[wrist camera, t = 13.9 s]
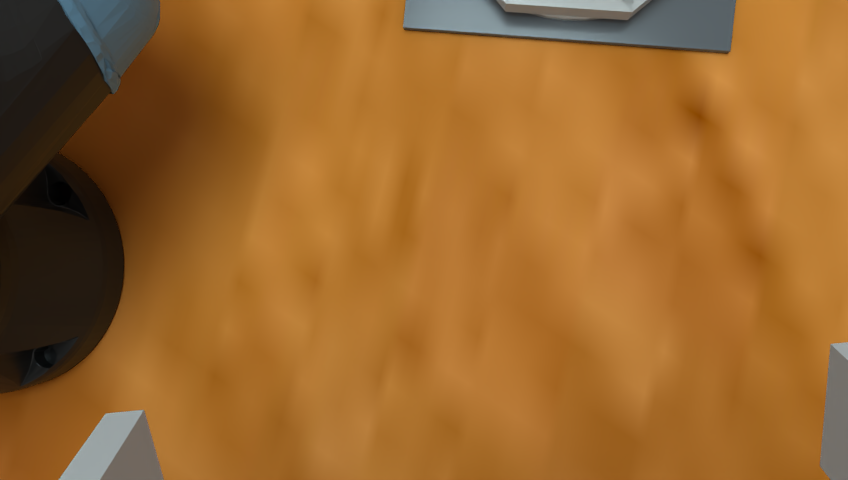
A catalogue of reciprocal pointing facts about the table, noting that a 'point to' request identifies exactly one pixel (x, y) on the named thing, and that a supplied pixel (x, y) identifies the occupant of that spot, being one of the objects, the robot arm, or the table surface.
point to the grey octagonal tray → (584, 21)
